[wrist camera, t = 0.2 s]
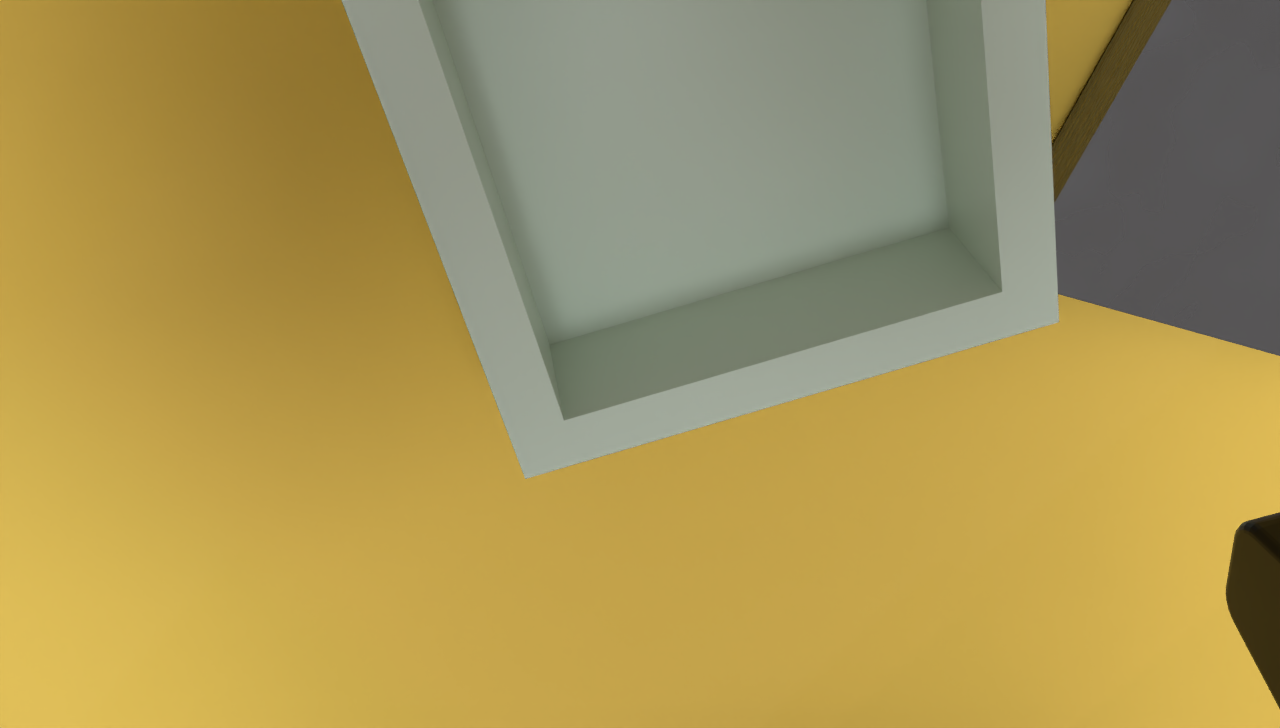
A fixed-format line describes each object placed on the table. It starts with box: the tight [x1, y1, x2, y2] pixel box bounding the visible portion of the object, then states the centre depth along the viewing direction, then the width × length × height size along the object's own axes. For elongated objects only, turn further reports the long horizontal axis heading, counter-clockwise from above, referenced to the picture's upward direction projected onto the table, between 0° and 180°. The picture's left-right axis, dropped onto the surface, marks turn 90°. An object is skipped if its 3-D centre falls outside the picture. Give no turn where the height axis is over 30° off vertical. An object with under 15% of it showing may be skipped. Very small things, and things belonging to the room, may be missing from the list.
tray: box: [342, 0, 1059, 479], centre depth 20 cm, size 12×10×4 cm
